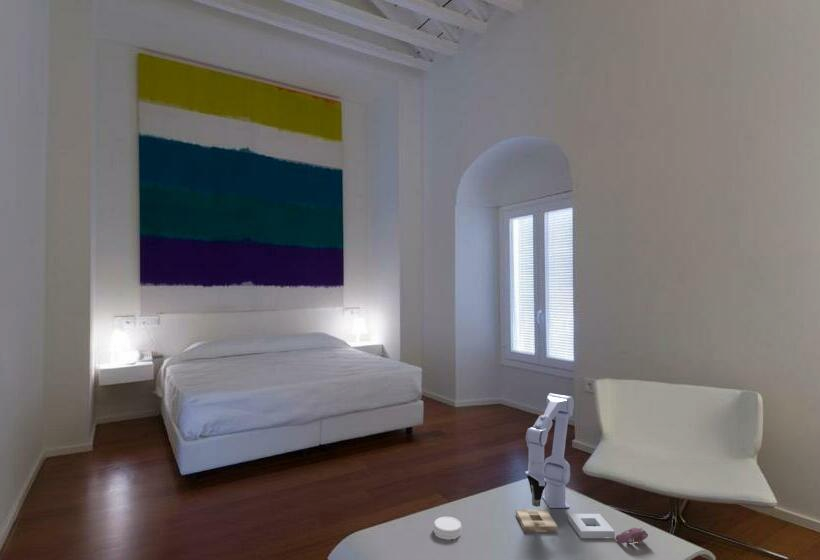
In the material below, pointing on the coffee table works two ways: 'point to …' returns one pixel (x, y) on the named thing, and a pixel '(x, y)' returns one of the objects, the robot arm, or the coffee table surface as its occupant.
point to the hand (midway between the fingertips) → (536, 496)
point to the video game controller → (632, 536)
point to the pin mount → (536, 526)
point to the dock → (596, 531)
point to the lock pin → (534, 502)
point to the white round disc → (447, 528)
